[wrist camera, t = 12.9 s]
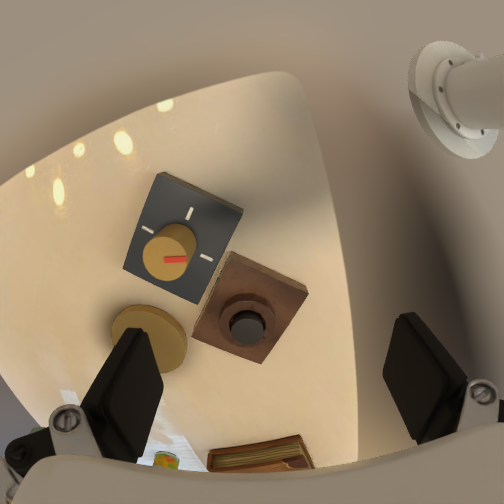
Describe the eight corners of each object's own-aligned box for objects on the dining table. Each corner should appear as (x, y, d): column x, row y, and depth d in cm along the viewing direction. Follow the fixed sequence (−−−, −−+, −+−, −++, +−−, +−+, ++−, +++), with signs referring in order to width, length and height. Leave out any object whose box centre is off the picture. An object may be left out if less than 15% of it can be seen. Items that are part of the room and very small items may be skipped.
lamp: (119, 281, 35) (-27, 483, 5) (208, 323, 37) (162, 576, 7) (102, 347, 39) (12, 515, 9) (177, 382, 41) (134, 571, 11)
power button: (240, 305, 32) (239, 313, 30) (268, 317, 33) (269, 326, 31) (226, 329, 33) (225, 337, 31) (254, 340, 34) (254, 349, 32)
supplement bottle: (184, 461, 50) (178, 496, 40) (166, 463, 50) (159, 496, 41) (169, 450, 48) (161, 486, 39) (151, 452, 49) (142, 486, 40)
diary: (208, 449, 47) (206, 472, 42) (299, 434, 45) (303, 458, 40) (246, 488, 55) (246, 505, 49) (318, 475, 53) (321, 493, 47)
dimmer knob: (160, 263, 31) (145, 283, 26) (155, 224, 30) (137, 239, 25) (198, 261, 31) (189, 281, 26) (194, 222, 30) (183, 235, 25)
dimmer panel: (163, 171, 30) (156, 173, 28) (243, 209, 32) (242, 214, 30) (129, 261, 34) (121, 269, 31) (200, 295, 35) (197, 305, 33)
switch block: (231, 251, 34) (229, 263, 30) (305, 285, 35) (311, 301, 31) (193, 327, 37) (188, 345, 33) (260, 354, 39) (261, 373, 35)
